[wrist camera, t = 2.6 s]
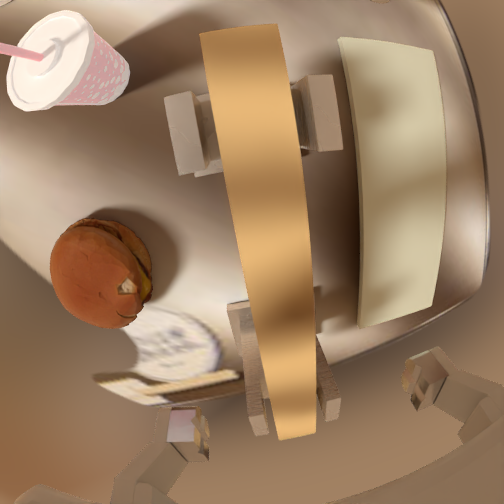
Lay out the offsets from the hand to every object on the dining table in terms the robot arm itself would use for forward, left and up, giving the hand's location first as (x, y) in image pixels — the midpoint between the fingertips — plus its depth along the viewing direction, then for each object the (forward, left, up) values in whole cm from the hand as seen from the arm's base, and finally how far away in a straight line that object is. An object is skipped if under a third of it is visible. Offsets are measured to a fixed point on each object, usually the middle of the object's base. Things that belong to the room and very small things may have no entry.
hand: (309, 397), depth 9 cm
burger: (-1, -14, -16) cm, 21 cm away
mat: (-2, +14, -16) cm, 21 cm away
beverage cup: (-16, -10, -16) cm, 25 cm away
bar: (0, 0, -8) cm, 8 cm away
